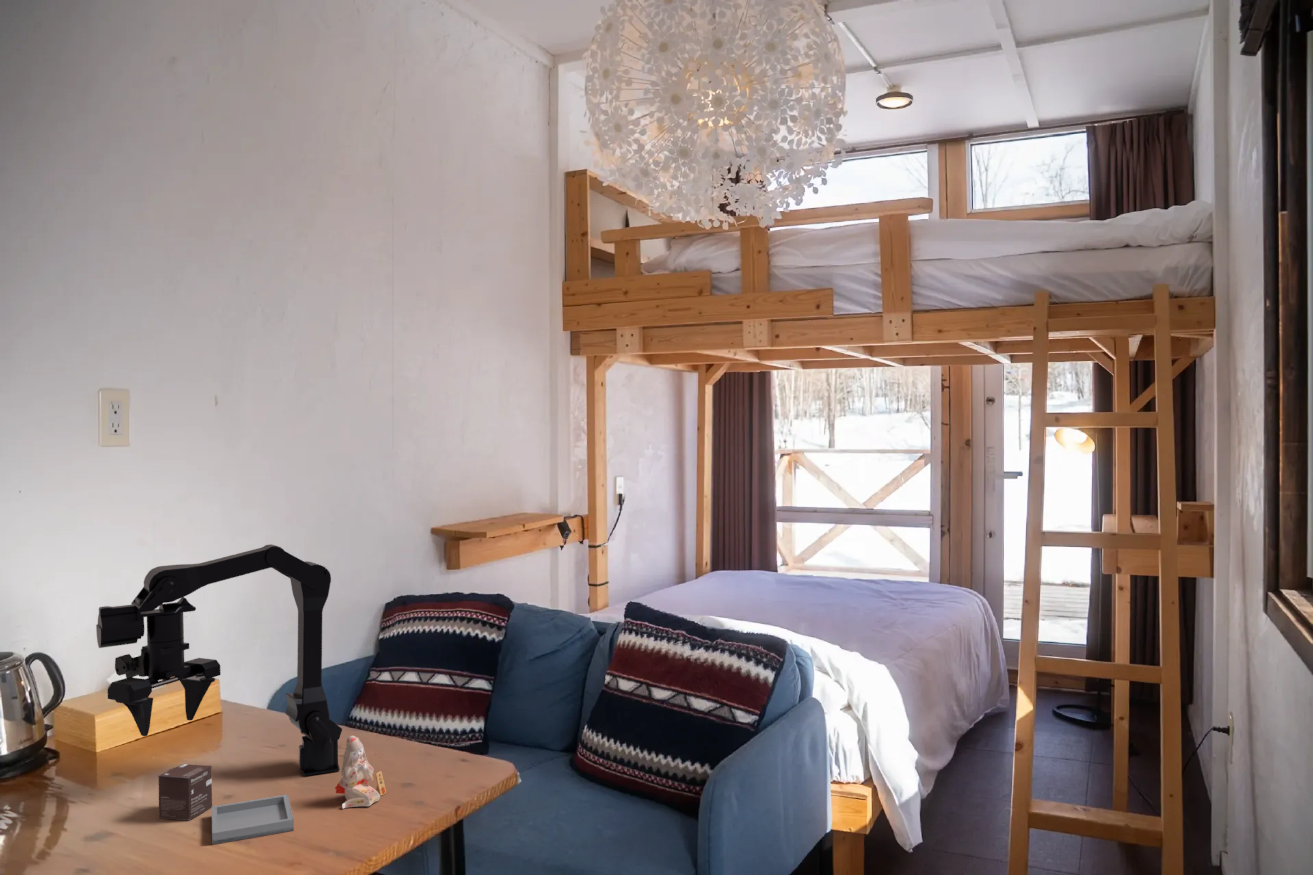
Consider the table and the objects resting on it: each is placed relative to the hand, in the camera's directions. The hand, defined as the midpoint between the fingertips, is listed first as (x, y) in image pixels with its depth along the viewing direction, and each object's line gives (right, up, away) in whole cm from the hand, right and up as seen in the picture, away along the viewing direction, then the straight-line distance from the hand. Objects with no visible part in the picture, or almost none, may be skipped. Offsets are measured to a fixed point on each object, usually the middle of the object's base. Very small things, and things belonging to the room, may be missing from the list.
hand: (167, 727), depth 167 cm
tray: (+19, -13, -9) cm, 25 cm away
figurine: (+34, -13, 0) cm, 37 cm away
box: (+5, -13, -5) cm, 15 cm away
